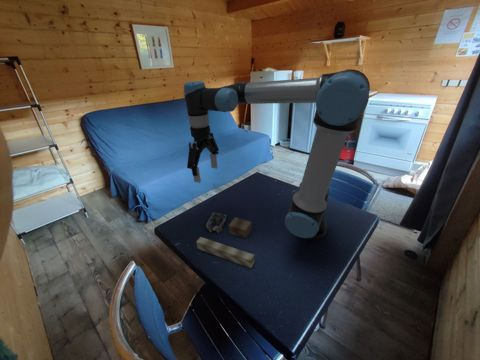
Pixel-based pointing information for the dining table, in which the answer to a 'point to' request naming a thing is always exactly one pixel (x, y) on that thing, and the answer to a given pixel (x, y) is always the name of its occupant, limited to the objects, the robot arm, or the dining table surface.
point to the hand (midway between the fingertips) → (206, 174)
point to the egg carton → (217, 218)
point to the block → (240, 227)
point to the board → (225, 252)
